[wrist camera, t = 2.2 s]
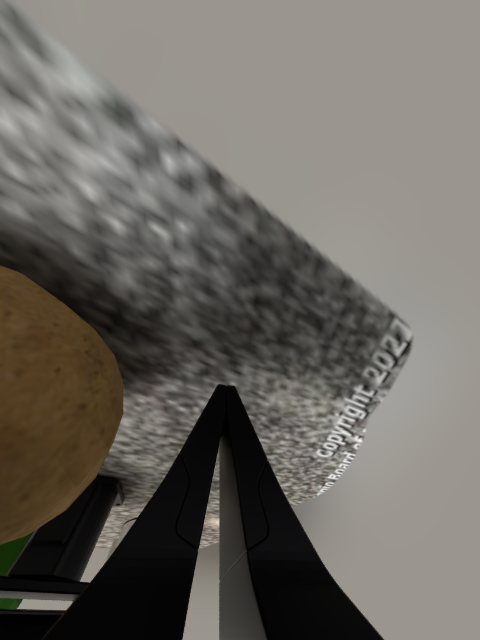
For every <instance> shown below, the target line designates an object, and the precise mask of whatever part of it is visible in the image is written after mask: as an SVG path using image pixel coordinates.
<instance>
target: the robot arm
mask: <svg viewBox="0 0 480 640" xmlns="http://www.w3.org/2000/svg"><path fill="white" fill-rule="evenodd" d="M219 442H220V567H219V569H220V570H219V572H220V573H219V574H220V575H219V576H220V577H219V579H220V583H219V586H220V588H219V589H220V590H219V612H220V613H219V616H220V617H219V618H220V619H219V621H220V622H219V640H384V639H383V638H382V637H381V636H380V634H379V633H378V632H377V631H376V630H375V628H374V627H373V626H372V625H371V624H370V622H369V621H368V620H367V619H366V618H365V617H364V615H363V614H362V613H361V612H360V611H359V609H358V608H357V607H356V606H355V605H354V603H353V602H352V601H351V600H350V599H349V597H348V596H347V595H346V594H345V593H344V592H343V590H342V589H341V588H340V587H339V585H338V584H337V583H336V581H335V580H334V579H333V577H332V576H331V575H330V573H329V572H328V570H327V569H326V567H325V566H324V564H323V562H322V561H321V559H320V557H319V556H318V554H317V552H316V550H315V549H314V547H313V545H312V543H311V541H310V540H309V538H308V536H307V534H306V532H305V531H304V529H303V527H302V525H301V523H300V522H299V520H298V518H297V516H296V515H295V513H294V511H293V509H292V507H291V505H290V504H289V502H288V500H287V498H286V496H285V494H284V492H283V490H282V489H281V487H280V484H279V482H278V480H277V478H276V476H275V474H274V472H273V470H272V467H271V465H270V463H269V461H267V460H268V459H267V456H266V454H265V452H264V450H263V447H262V445H261V443H260V441H259V439H258V436H257V434H256V432H255V430H254V427H253V425H252V423H251V421H250V418H249V416H248V414H247V412H246V409H245V407H244V405H243V403H242V401H241V398H240V396H239V394H238V392H237V389H236V387H235V386H230V385H227V386H226V385H222V384H218V385H217V387H216V389H215V391H214V392H213V394H212V396H211V398H210V399H209V401H208V403H207V405H206V406H205V408H204V410H203V412H202V414H201V415H200V417H199V419H198V421H197V422H196V424H195V426H194V428H193V430H192V431H191V433H190V435H189V437H188V438H187V440H186V442H185V444H184V446H183V447H182V449H181V451H180V454H178V456H177V458H176V459H175V461H174V463H173V465H172V466H171V468H170V470H169V471H168V473H167V475H166V476H165V478H164V480H163V481H162V483H161V484H160V486H159V487H158V489H157V490H156V492H155V493H154V495H153V496H152V498H151V499H150V501H149V502H148V504H147V505H146V506H145V508H144V509H143V511H142V512H141V514H140V515H139V516H138V518H137V519H136V521H135V522H134V524H133V525H132V526H131V528H130V529H129V531H128V532H127V534H126V535H125V536H124V538H123V539H122V541H121V542H120V544H119V545H118V546H117V548H116V549H115V551H114V552H113V553H112V555H111V556H110V557H109V559H108V560H107V561H106V563H105V564H104V565H103V567H102V568H101V569H100V571H99V572H98V573H97V575H96V576H95V577H94V578H93V580H92V581H91V582H90V583H88V582H80V580H81V577H82V575H83V573H84V570H85V568H86V566H87V564H88V561H89V559H90V556H91V554H92V552H93V550H94V548H95V545H96V543H97V541H98V538H99V536H100V534H101V531H102V529H103V527H104V525H105V522H106V520H107V518H108V515H109V513H110V511H111V508H112V506H122V505H123V502H124V498H123V494H122V490H121V486H120V482H119V480H117V479H109V478H95V479H94V480H93V481H92V482H91V483H90V484H89V485H88V487H87V488H86V489H85V490H84V491H83V492H82V493H81V494H80V495H79V496H78V497H77V499H76V500H75V501H74V502H73V503H72V504H71V505H70V506H69V507H68V508H67V509H66V510H65V511H64V512H62V513H61V514H59V515H57V516H56V517H54V518H53V519H51V520H50V521H48V522H47V523H45V524H44V525H42V526H41V527H39V528H38V529H36V530H35V531H34V533H33V534H32V536H31V537H30V539H29V541H28V542H27V544H26V545H25V547H24V548H23V550H22V551H21V553H20V554H19V556H18V557H17V559H16V560H15V562H14V564H13V565H12V567H11V568H10V570H9V571H8V573H7V574H6V576H0V598H15V599H39V600H62V601H73V603H72V604H71V606H70V607H69V608H68V609H67V610H30V609H29V610H27V609H0V640H182V639H183V633H184V627H185V621H186V615H187V610H188V604H189V598H190V593H191V587H192V581H193V576H194V570H195V565H196V560H197V555H198V549H199V545H200V540H201V534H202V529H203V524H204V519H205V514H206V509H207V504H208V499H209V494H210V488H211V483H212V478H213V473H214V468H215V463H216V458H217V453H218V448H219Z"/></svg>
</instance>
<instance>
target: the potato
mask: <svg viewBox="0 0 480 640" xmlns="http://www.w3.org/2000/svg"><path fill="white" fill-rule="evenodd" d="M122 415H123V380H122V377H121V374H120V371H119V367H118V364H117V361H116V358H115V355H114V354H113V353H112V351H111V350H110V349H109V348H108V346H107V345H106V344H105V342H104V341H103V340H102V338H101V337H100V336H99V335H98V333H97V332H96V331H95V329H94V328H92V327H91V326H90V325H89V324H88V323H86V322H85V321H84V320H83V319H82V318H80V317H79V316H78V315H77V314H76V313H74V312H73V311H72V310H71V309H70V308H68V307H67V306H66V305H65V304H64V303H62V302H61V301H60V300H58V299H57V298H56V297H54V296H53V295H51V294H50V293H49V292H47V291H46V290H44V289H43V288H42V287H40V286H39V285H37V284H36V283H35V282H33V281H32V280H30V279H29V278H28V277H26V276H25V275H23V274H22V273H19V272H17V271H14V270H11V269H8V268H6V267H3V266H0V545H1V544H3V543H6V542H9V541H12V540H15V539H18V538H21V537H24V536H27V535H28V534H30V533H31V532H33V531H34V530H36V529H38V528H39V527H41V526H42V525H44V524H45V523H47V522H48V521H50V520H51V519H53V518H54V517H56V516H57V515H59V514H61V513H62V512H64V511H65V510H66V509H67V508H68V507H69V506H70V505H71V504H72V503H73V502H74V501H75V500H76V499H77V497H78V496H79V495H80V494H81V493H82V492H83V491H84V490H85V489H86V488H87V487H88V485H89V484H90V483H91V482H92V481H93V480H94V479H95V478H96V476H97V474H98V472H99V470H100V468H101V466H102V464H103V462H104V460H105V458H106V456H107V454H108V452H109V450H110V448H111V446H112V444H113V442H114V439H115V436H116V433H117V430H118V427H119V424H120V421H121V418H122Z"/></svg>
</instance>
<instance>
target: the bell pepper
mask: <svg viewBox="0 0 480 640" xmlns="http://www.w3.org/2000/svg"><path fill="white" fill-rule="evenodd" d="M34 531H35V530H34ZM34 531H33V532H31V533H30V534H28V535H27V536H24V537H21V538H18V539H15V540H12V541H9V542H6V543H3V544H1V545H0V576H6V574H7V573H8V571H9V570H10V568H11V567H12V565H13V564H14V562H15V560H16V559H17V557H18V556H19V554H20V553H21V551H22V550H23V548H24V547H25V545H26V544H27V542H28V541H29V539H30V537H31V536H32V534H33V533H34ZM22 600H23V599H15V598H0V609H17V608H18V607H19V605H20V603H21V602H22Z"/></svg>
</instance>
